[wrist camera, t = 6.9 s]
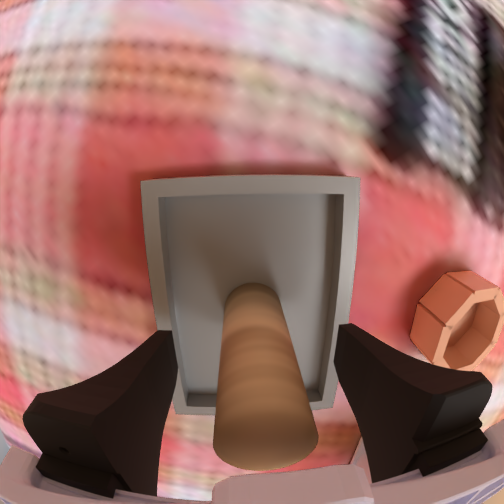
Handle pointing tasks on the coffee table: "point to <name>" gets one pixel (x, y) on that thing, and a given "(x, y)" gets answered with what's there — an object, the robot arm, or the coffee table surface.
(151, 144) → the coffee table surface
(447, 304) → the cup
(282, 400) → the dowel
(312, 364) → the tray
